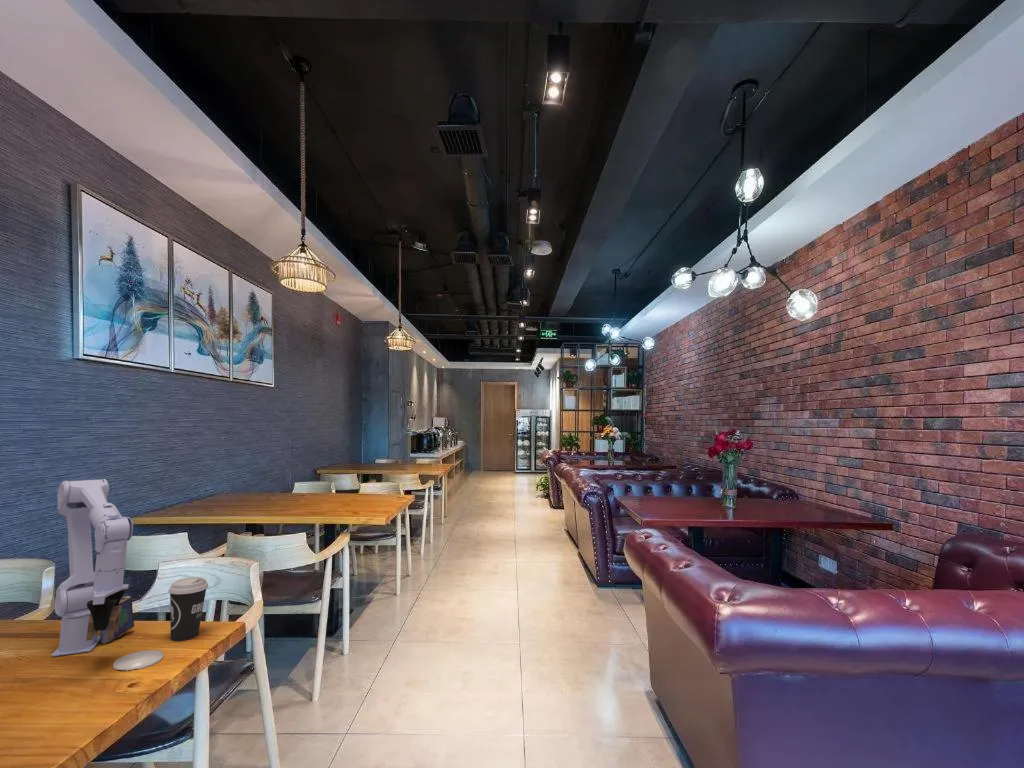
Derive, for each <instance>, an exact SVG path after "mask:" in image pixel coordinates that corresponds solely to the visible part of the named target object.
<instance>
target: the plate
mask: <svg viewBox="0 0 1024 768" xmlns="http://www.w3.org/2000/svg"><path fill="white" fill-rule="evenodd" d="M162 658H164V652H163V651H162V650H157V649H148V650H141V651H140V650H139V651H136V652H135V651H134V652H132V653H129V654H126V655H123V656H121V657H119V658H117V659H116V660H115V661H114V662H113V664H112V669H113V668H114V669H113V670H115V669H116V670H115V671H117V670H123V671H122V672H129V671H128V670H133V671H135V670H134V669H139V670H143V669H146V668H149V667H151V666H154V665H156V664H157V662H158V663H160V662H161V661H162V660H163V659H162ZM160 660H161V661H160ZM155 663H156V664H155ZM145 667H146V668H145ZM142 668H143V669H142ZM124 670H126V671H124Z"/></svg>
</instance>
